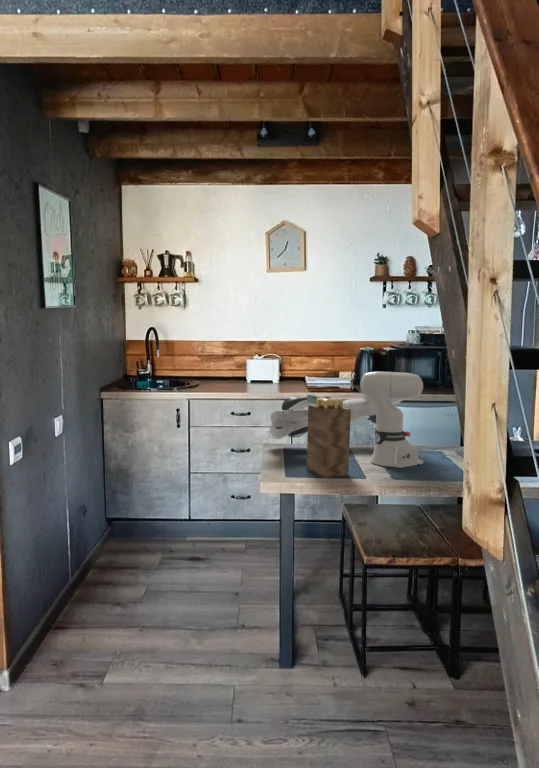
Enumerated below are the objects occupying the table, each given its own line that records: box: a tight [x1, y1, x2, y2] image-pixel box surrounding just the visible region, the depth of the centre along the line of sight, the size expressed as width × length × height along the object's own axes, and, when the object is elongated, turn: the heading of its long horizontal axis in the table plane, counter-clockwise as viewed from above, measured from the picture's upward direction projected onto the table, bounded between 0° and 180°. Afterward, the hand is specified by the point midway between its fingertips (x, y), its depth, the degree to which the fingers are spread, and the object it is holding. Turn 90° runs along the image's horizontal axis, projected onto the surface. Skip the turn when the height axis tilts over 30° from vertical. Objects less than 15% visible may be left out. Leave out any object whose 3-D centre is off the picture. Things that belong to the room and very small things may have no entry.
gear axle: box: [306, 393, 344, 409], centre depth 226 cm, size 10×21×3 cm, turn 24°
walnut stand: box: [306, 405, 351, 479], centre depth 223 cm, size 11×14×26 cm
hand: (301, 409), depth 244 cm, fingers open, 8 cm apart
